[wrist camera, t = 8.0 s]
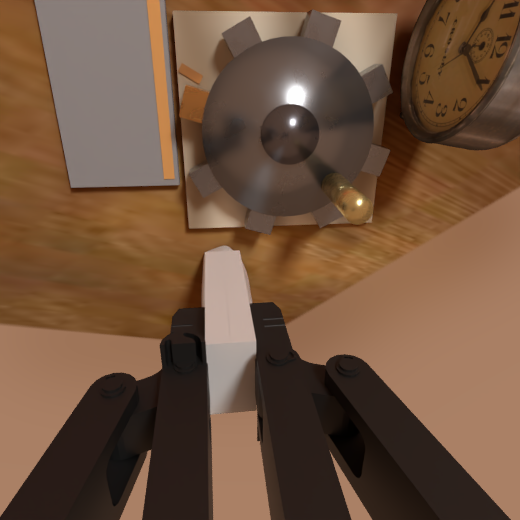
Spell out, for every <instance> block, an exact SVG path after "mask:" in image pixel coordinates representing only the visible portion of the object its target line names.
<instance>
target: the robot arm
mask: <svg viewBox="0 0 520 520" xmlns="http://www.w3.org/2000/svg"><path fill="white" fill-rule="evenodd" d="M171 326H172V327H171V334H169V335H167V336H166V337H165V338H164V339H163V340H162V341H161V343H160V351H161V360H162V369H161V370H160V371H159V372H158V373H156V374H154V375H153V376H150V377H148V378H145V379H142V380H139V381H136V380H135V378H134V377H133V376H131V375H130V374H126V373H112V374H110V375H105V376H104V377H101V378H100V379H98V380H96V381H95V382H94V383H93V384H92V385H91V386H90V388H89V389H88V391H87V392H86V394H85V395H84V397H83V398H82V399H81V401H80V402H79V404H78V405H77V407H76V408H75V409H74V411H73V412H72V414H71V415H70V417H69V418H68V420H67V421H66V422H65V424H64V425H63V427H62V428H61V430H60V431H59V433H58V434H57V436H56V437H55V438H54V440H53V441H52V443H51V444H50V446H49V447H48V449H47V450H46V451H45V453H44V455H43V456H42V457H41V459H40V460H39V462H38V463H37V465H36V466H35V468H34V469H33V470H32V472H31V473H30V475H29V476H28V478H27V479H26V480H25V482H24V483H23V485H22V486H21V488H20V489H19V491H18V492H17V494H16V495H15V496H14V498H13V499H12V501H11V502H10V504H9V505H8V507H7V508H6V510H5V511H4V512H3V514H2V515H1V517H0V520H119V519H120V517H121V515H122V512H123V510H124V508H125V505H126V503H127V501H128V498H129V496H130V493H131V491H132V489H133V486H134V484H135V482H136V480H137V477H138V475H139V473H140V470H141V468H142V465H143V463H144V461H145V458H146V455H147V451H148V450H151V449H152V450H151V458H150V465H149V473H148V480H147V488H146V495H145V504H144V510H143V518H142V520H213V494H212V493H213V492H212V446H211V418H210V414H221V413H233V412H244V411H255V410H256V404H257V411H258V412H257V413H258V414H257V415H258V416H257V419H258V420H257V422H258V423H257V424H258V427H257V432H258V433H257V435H258V437H257V441H260V445H261V452H262V459H263V466H264V473H265V480H266V486H267V494H268V501H269V508H270V515H271V520H351V517H350V514H349V511H348V508H347V505H346V502H345V498H344V495H343V492H342V489H341V486H340V483H339V479H338V476H337V473H336V470H335V467H334V464H333V460H332V457H331V454H330V452H331V453H332V455H333V457H334V458H335V460H336V461H337V463H338V465H339V466H340V468H341V470H342V471H343V473H344V474H345V476H346V477H347V479H348V481H349V482H350V484H351V485H352V487H353V489H354V490H355V492H356V494H357V495H358V497H359V498H360V500H361V502H362V503H363V505H364V507H365V508H366V510H367V511H368V513H369V515H370V516H371V518H372V520H511V519H510V518H509V517H508V516H507V515H506V514H505V513H504V512H503V511H502V510H501V509H500V507H499V506H498V505H497V504H496V503H495V502H494V501H493V500H492V499H491V498H490V497H489V496H488V495H487V493H486V492H485V491H484V490H483V489H482V488H481V487H480V486H479V485H478V484H477V483H476V481H475V480H474V479H473V478H472V477H471V476H470V475H469V474H468V473H467V472H466V471H465V470H464V468H463V467H462V466H461V465H460V464H459V463H458V462H457V461H456V460H455V459H454V458H453V457H452V455H451V454H450V453H449V452H448V451H447V450H446V449H445V448H444V447H443V446H442V444H441V443H440V442H439V441H438V440H437V439H436V438H435V437H434V436H433V435H432V434H431V433H430V431H429V430H428V429H427V428H426V427H425V426H424V425H423V424H422V423H421V422H420V421H419V420H418V418H417V417H416V416H415V415H414V414H413V413H412V412H411V411H410V410H409V409H408V408H407V406H406V405H405V404H404V403H403V402H402V401H401V400H400V399H399V398H398V397H397V396H396V395H395V394H394V392H393V391H392V390H391V389H390V388H389V387H388V386H387V385H386V384H385V383H384V382H383V380H382V379H381V378H380V377H379V376H378V375H377V374H376V373H375V372H374V371H373V370H372V368H370V366H369V365H368V364H367V363H366V362H364V361H363V360H362V359H360V358H358V357H355V356H351V355H345V354H344V355H336V356H334V357H332V358H330V359H329V360H328V361H327V363H326V366H325V365H318V364H313V363H309V362H306V361H304V360H302V359H301V358H300V357H299V355H298V353H297V352H296V351H294V350H293V349H292V346H291V342H290V339H289V336H288V333H287V329H286V326H285V323H284V319H283V316H282V313H281V310H280V308H279V307H277V306H276V305H275V304H274V303H273V302H268V303H251V304H249V299H248V293H247V288H246V283H245V277H244V272H243V266H242V261H241V255H240V250H237V251H216V252H205V307H201V308H184V309H179V310H178V311H177V312H176V313H175V314H174V316H173V317H172V325H171ZM329 450H330V451H329Z"/></svg>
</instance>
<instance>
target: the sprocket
mask: <svg viewBox="0 0 520 520" xmlns="http://www.w3.org/2000/svg"><path fill="white" fill-rule="evenodd" d="M340 24H341V20H339V19H336V18H333V17H331V16H328V15H325V14H323V13H320V12H317V11H315V10H310V11H309V12H307V14H306V18H305V21H304V24H303V27H302V31H301V34H300V37H298V36H284V37H278V38H272V39H269V40H266V41H263V42H262V40H261V38H260V36H259V34H258V32H257V30H256V28H255V25H254V23H253V21H252V19H251V17H250V16H249V17H247V18H246V19H244V20H242V21H241V22H239V23H238V24H236V25H234V26H233V27H231V28H229V29H228V30H226V31H224V32H223V33H222V37H223V39H224V41H225V43H226V45H227V47H228V49H229V50H230V52H231V54H232V56H233V59H232V60H231V61H230V62H229V63H228V64H227V65H226V66H225V67H224V69H223V70H222V71H221V72H220V74H219V75H218V77H217V78H216V80H215V82H214V83H213V85H212V87H211V90H210V92H209V91H206V90H203V89H200V88H197V87H194V86H190V85H185V90H184V94H183V99H182V104H181V108H180V113H179V117H181V118H185V119H188V120H192V121H195V122H198V123H202V140H203V147H204V152H205V156H206V159H207V160H205V161H203V162H201V163H200V164H198V165H196V166H194V167H193V168H191V169H190V170H189V176H190V177H191V179H192V180H193V182H194V184H195V185H196V187H197V188H198V190H199V192H200V193H201V195H202V196H203V198H205V197H206V196H208V195H210V194H212V193H213V192H215V191H217V190H219V189H221V188H223V189H224V190H225V191H226V192H227V193H228V194H229V195H230V196H231V197H232V198H233V199H235V200H236V201H237V202H239V203H240V204H242V205H243V206H245V207H247V208H248V210H247V213H246V216H245V220H244V224H245V229H249V230H253V231H257V232H261V233H265V234H269V235H270V234H271V231H272V228H273V225H274V222H275V219H276V216H283V217H286V216H297V215H302V214H306V213H309V212H311V213H312V215H313V217H314V219H315V221H316V223H317V224H318V226H319V227H320V228H322V227H324V226H326V225H328V224H329V223H331V222H333V221H335V220H337V219H339V218H341V217H343V216H344V217H345V218H346V219H347V221H348V222H350V223H351V224H355V225H359V224H363V223H365V222H367V221H368V220H369V219H370V218H371V216H372V214H373V204H372V202H371V201H370V199H368V198H367V197H366V196H365V195H364V194H363V193H362V192H360V191H359V190H358V189H357V188H356V187H355V186H354V185H352V183H353V182H354V180H355V179H356V178H357V176H358V174H359V173H360V171H363V172H366V173H370V174H373V175H376V176H380V174H381V172H382V170H383V167H384V165H385V162H386V160H387V158H388V155H389V153H390V150H389V149H387V148H385V147H383V146H381V145H377V144H374V143H372V139H373V130H374V113H373V107H372V104H373V103H375V102H377V101H379V100H380V99H382V98H384V97H386V96H388V95H389V94H391V93H393V91H392V89H391V86H390V83H389V80H388V77H387V74H386V72H385V69H384V66H383V64H373V65H372V66H370V67H368V68H366V69H365V70H363V71H361V72H358V70H357V69H356V68H355V66H354V65H353V64H352V63H351V62H350V61H349V60H348V59H347V58H346V57H345V56H344V55H343V54H342V53H340V52H339V51H337V50H336V49H334V48H333V45H334V42H335V39H336V36H337V33H338V30H339V27H340Z"/></svg>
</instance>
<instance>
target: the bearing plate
mask: <svg viewBox="0 0 520 520" xmlns="http://www.w3.org/2000/svg"><path fill="white" fill-rule="evenodd" d="M306 14H307V12H234V11H173V22H174V35H175V49H176V62H177V75H178V88H179V102H180V108H181V104H182V99H183V94H184V90H185V85H190V86H194V87H197V88H200V89H203V90H206V91H209V92H210V90H211V87H212V85H213V83H214V82H215V80H216V78H217V77H218V75H219V74H220V72H221V71H222V70H223V69H224V67H225V66H226V65H227V64H228V63H229V62H230V61H231V60H232V59H233V56H232V54H231V52H230V50H229V49H228V47H227V45H226V43H225V41H224V39H223V37H222V33H223V32H224V31H226V30H228V29H229V28H231V27H233V26H234V25H236V24H238V23H239V22H241V21H242V20H244V19H246V18H247V17H249V16H250V17H251V19H252V21H253V23H254V25H255V28H256V30H257V32H258V34H259V36H260V38H261V40H262V42H263V41H266V40H269V39H272V38H278V37H284V36H298V37H300V34H301V31H302V27H303V24H304V21H305V18H306ZM323 14H325V15H328V16H331V17H333V18H336V19H339V20H341V24H340V27H339V30H338V33H337V36H336V39H335V42H334V45H333V48H334V49H336V50H337V51H339V52H340V53H342V54H343V55H344V56H345V57H346V58H347V59H348V60H349V61H350V62H351V63H352V64H353V65H354V66H355V68H356V69H357V70H358V72H361V71H363V70H365V69H366V68H368V67H370V66H372V65H373V64H383V66H384V69H385V72H386V74H387V77H388V80H389V77H390V69H391V61H392V53H393V44H394V36H395V28H396V20H397V14H387V13H323ZM386 102H387V96H386V97H384V98H382V99H380V100H379V101H377V102H375V103H373V104H372V107H373V113H374V130H373V139H372V143H374V144H377V145H381V142H382V134H383V126H384V118H385V110H386ZM181 128H182V141H183V155H184V168H185V181H186V194H187V208H188V221H189V229H192V228H222V227H245V224H244V220H245V216H246V213H247V210H248V208H247V207H245V206H243V205H242V204H240V203H239V202H237V201H236V200H235V199H233V198H232V197H231V196H230V195H229V194H228V193H227V192H226V191H225V190H224V189H223V188H221V189H219V190H217V191H215V192H213V193H212V194H210V195H208V196H206V197H205V198H203V196H202V195H201V193H200V192H199V190H198V188H197V187H196V185H195V184H194V182H193V180H192V179H191V177H190V176H189V170H190V169H191V168H193V167H194V166H196V165H198V164H200V163H201V162H203V161H205V160H207V159H206V156H205V152H204V147H203V140H202V123H198V122H195V121H192V120H188V119H185V118H181ZM376 183H377V176H376V175H373V174H370V173H366V172H363V171H360V173H359V174H358V176H357V178H356V179H355V180H354V182H353V183H352V185H354V186H355V187H356V188H357V189H358V190H359V191H360V192H362V193H363V194H364V195H365V196H366V197H367V198H368V199H370V201H371V202H372V204H373V207H374V199H375V191H376ZM372 216H373V214H372ZM372 216H371V218H370V219H369V220H368V221H367V222H365V223H372ZM342 223H350V222H348V221H347V219H346V218H345V217H344V216H343V217H341V218H339V219H337V220H335V221H333V222H331V223H329V224H342ZM312 224H317V223H316V221H315V219H314V217H313V215H312V213H311V212H309V213H306V214H302V215H297V216H286V217H283V216H276V219H275V222H274V225H273V226H282V225H312Z"/></svg>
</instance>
